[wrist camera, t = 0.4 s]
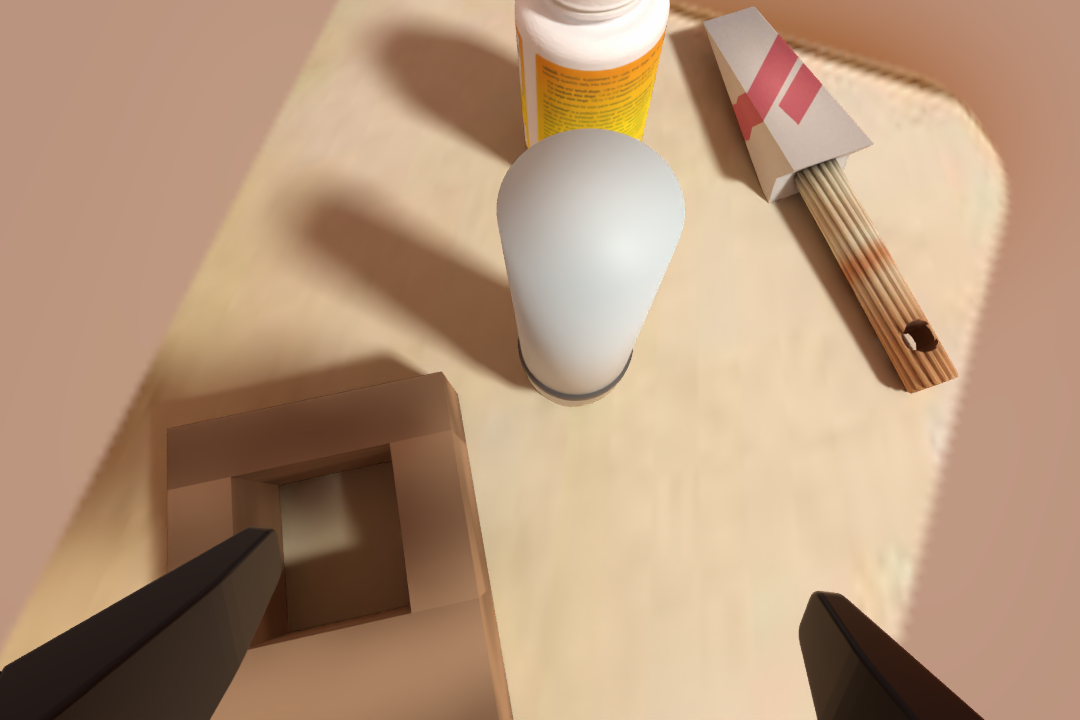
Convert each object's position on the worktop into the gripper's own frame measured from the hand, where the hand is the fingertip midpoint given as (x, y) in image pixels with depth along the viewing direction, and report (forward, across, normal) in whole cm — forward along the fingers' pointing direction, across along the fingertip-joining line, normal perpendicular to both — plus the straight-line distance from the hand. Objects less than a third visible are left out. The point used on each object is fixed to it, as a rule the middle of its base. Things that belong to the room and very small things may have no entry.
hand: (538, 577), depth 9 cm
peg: (+15, -1, +3) cm, 15 cm away
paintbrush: (+21, -11, -4) cm, 24 cm away
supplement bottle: (+22, 0, -6) cm, 23 cm away
